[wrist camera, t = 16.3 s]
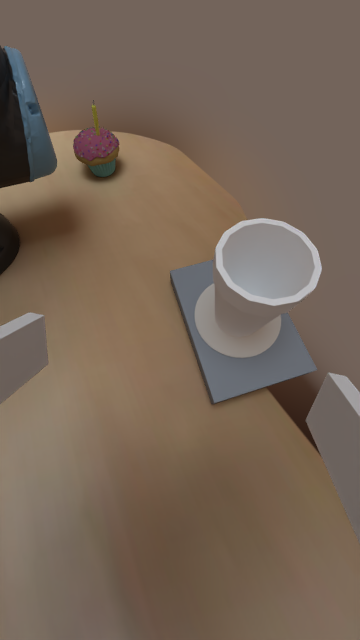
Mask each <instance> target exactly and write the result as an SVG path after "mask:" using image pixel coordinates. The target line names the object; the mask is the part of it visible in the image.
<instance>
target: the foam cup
mask: <svg viewBox="0 0 360 640" xmlns="http://www.w3.org/2000/svg"><path fill="white" fill-rule="evenodd" d="M321 270H322V267H321V263H320V259H319V254H318V250H317V248H316V247H315V246H314V245H313V244H312V242H311V241H310V240H309V239H308V238H307V236H306V235H305V234H304V233H303V232H301V231H299V230H298V229H296V228H294V227H292V226H290V225H288V224H287V223H285V222H282V221H276V220H270V219H265V218H259V219H253V220H247V221H241V222H239V223H238V224H236V225H235V226H233V227H232V228H230V229H228V230H227V231H225V232H224V234H223V236H222V237H221V239H220V241H219V243H218V245H217V246H216V249H215V254H214V259H213V282H214V284H215V321H216V323H217V324H218V326H219V328H220V329H221V330H222V331H223V332H225V333H226V334H228V335H230V336H234V337H238V338H239V337H244V336H249V335H251V334H252V333H254V332H255V331H257V330H258V329H260V328H261V327H263V326H264V325H266V324H267V323H269V322H270V321H272V320H273V319H275V318H276V317H278V316H279V315H281V314H284V313H288V312H289V311H290V310H291V309H293V308H294V307H295V306H296V305H297V304H299V303H300V302H301V301H303V300H304V299H305V298H306V297H307V296H308V295H309V294H310V293H311V292H312V291H313V290H314V289H315V287H316V285H317V282H318V279H319V276H320V273H321Z"/></svg>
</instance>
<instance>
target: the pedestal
mask: <svg viewBox="0 0 360 640" xmlns="http://www.w3.org/2000/svg"><path fill="white" fill-rule="evenodd" d="M170 278H171V284H172V287H173V290H174V293H175V296H176V299H177V302H178V305H179V308H180V311H181V314H182V317H183V320H184V323H185V326H186V329H187V332H188V335H189V338H190V341H191V344H192V347H193V350H194V353H195V356H196V359H197V362H198V365H199V368H200V371H201V374H202V377H203V380H204V383H205V386H206V389H207V392H208V395H209V398H210V401H211V404H215V403H218V402H221V401H224V400H227V399H230V398H233V397H236V396H240V395H243V394H246V393H249V392H252V391H255V390H258V389H261V388H264V387H267V386H270V385H273V384H277V383H280V382H283V381H286V380H289V379H292V378H295V377H298V376H301V375H304V374H307V373H310V372H312V371H315V370H317V369H316V366H315V365H314V363H313V361H312V359H311V357H310V355H309V353H308V351H307V349H306V347H305V345H304V343H303V341H302V340H301V338H300V336H299V334H298V332H297V330H296V328H295V326H294V324H293V322H292V320H291V319H290V316H289V315H288V313H284V314H281V315H279V316H278V317H276V318H275V319H273V320H272V321H270V322H269V323H267V324H266V325H264V326H263V327H261V328H260V329H258V330H257V331H255V332H254V333H252V334H251V335H249V336H244V337H239V338H238V337H234V336H230V335H228V334H226V333H225V332H223V331H222V330H221V329H220V328H219V326H218V324H217V323H216V321H215V284H214V282H213V260H211V261H207V262H203V263H199V264H195V265H191V266H187V267H183V268H180V269H176V270H172V271H170Z"/></svg>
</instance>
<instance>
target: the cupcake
mask: <svg viewBox="0 0 360 640" xmlns="http://www.w3.org/2000/svg"><path fill="white" fill-rule="evenodd" d="M92 111H93V117H94V123H95V127H93V128H87V129H86V130H85V129H84V130H82V131H81V132H80V133H79V134H78V135H77V136H76V138H75V139H74V144H73V148H74V153H75V156H76V158H77V159H78V160H79V161H80V162H82V163H84V164H87V165H88V167H89V168H90V169H91V171H92V172H93V173H94V174H95V175H96V176H99V177H106V176H109V175H111V174H112V173H113V172H114V171H115V160H116V157H117V156H118V151H119V146H118V145H119V141H118V139H117V138H116V137H115V136H114V134H112V132H110V131H108V130H107V129H104V128H100V127H99V125H98V118H97V112H96V106H95V105H94V100H93V105H92Z"/></svg>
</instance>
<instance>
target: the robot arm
mask: <svg viewBox="0 0 360 640" xmlns="http://www.w3.org/2000/svg"><path fill="white" fill-rule="evenodd" d="M56 167H57V159H56V155H55V152H54V148H53V145H52V142H51V139H50V136H49V133H48V130H47V127H46V124H45V121H44V118H43V114H42V112H41V109H40V106H39V103H38V100H37V97H36V94H35V91H34V88H33V85H32V82H31V79H30V76H29V73H28V70H27V68H26V65H25V62H24V60H23V57H22V54H21V53H20V52H19V51H18V50H17V49H15V48H10V47H7V46H5V47H4V48H3V49H2V48H1V46H0V188H4V187H8V186H12V185H17V184H21V183H25V182H33V181H34V179H37V178H40V177H44V176H47V175H50V174H52V173H53V172H54V171H55V169H56ZM19 243H20V240H19V235H18V232H17V230H16V229H15V227H14V226H13V225H12V224H11V223H10V222H9V220H8V219H7V218H6V217H4V216H3V215H2V214H0V273H2V272H3V271H4V270H5V269H6V268H7V267H8V266H9V265H10V264H11V263H12V261H13V260H14V258H15V256H16V254H17V252H18V249H19ZM46 365H48V354H47V342H46V330H45V318H44V315H40V314H35V313H30V312H29V313H27V314H25V315H23V316H21V317H18V318H16V319H14V320H12V321H10V322H8V323H6V324H4V325H2V326H0V404H1V403H2V402H3V401H5V400H6V399H7V398H8V397H9V396H11V395H12V394H13V393H14V392H15V391H17V390H18V389H19V388H20V387H21V386H22V385H24V384H25V383H26V382H27V381H28V380H30V379H31V378H32V377H33V376H34V375H36V374H37V373H38V372H39V371H40V370H42V369H43V368H44V367H45V366H46ZM306 422H307V424H308V427H309V429H310V431H311V433H312V435H313V438H314V440H315V443H316V445H317V447H318V449H319V452H320V454H321V456H322V459H323V461H324V463H325V465H326V468H327V470H328V472H329V475H330V477H331V479H332V481H333V484H334V486H335V488H336V491H337V493H338V495H339V497H340V500H341V502H342V504H343V507H344V509H345V511H346V513H347V516H348V518H349V520H350V523H351V525H352V527H353V529H354V532H355V534H356V536H357V538H358V541H359V543H360V393H359V391H358V390H357V389H356V388H355V387H354V385H353V384H352V383H351V382H350V380H349V379H348V378H347V377H346V376H341V375H337V374H332V373H328V374H327V376H326V378H325V380H324V382H323V384H322V387H321V389H320V391H319V393H318V395H317V397H316V399H315V402H314V404H313V406H312V408H311V410H310V412H309V414H308V416H307V418H306Z"/></svg>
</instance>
